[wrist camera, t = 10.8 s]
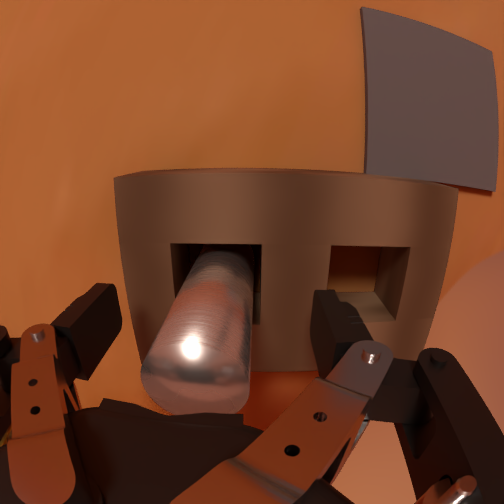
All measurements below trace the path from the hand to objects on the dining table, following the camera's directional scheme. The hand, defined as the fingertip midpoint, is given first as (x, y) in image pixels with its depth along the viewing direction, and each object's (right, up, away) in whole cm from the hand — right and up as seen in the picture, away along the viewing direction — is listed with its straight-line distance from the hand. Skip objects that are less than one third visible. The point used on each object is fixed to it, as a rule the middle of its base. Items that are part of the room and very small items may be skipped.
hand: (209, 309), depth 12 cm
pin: (0, +2, +5) cm, 6 cm away
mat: (+13, +11, +2) cm, 17 cm away
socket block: (+4, +2, +5) cm, 7 cm away
